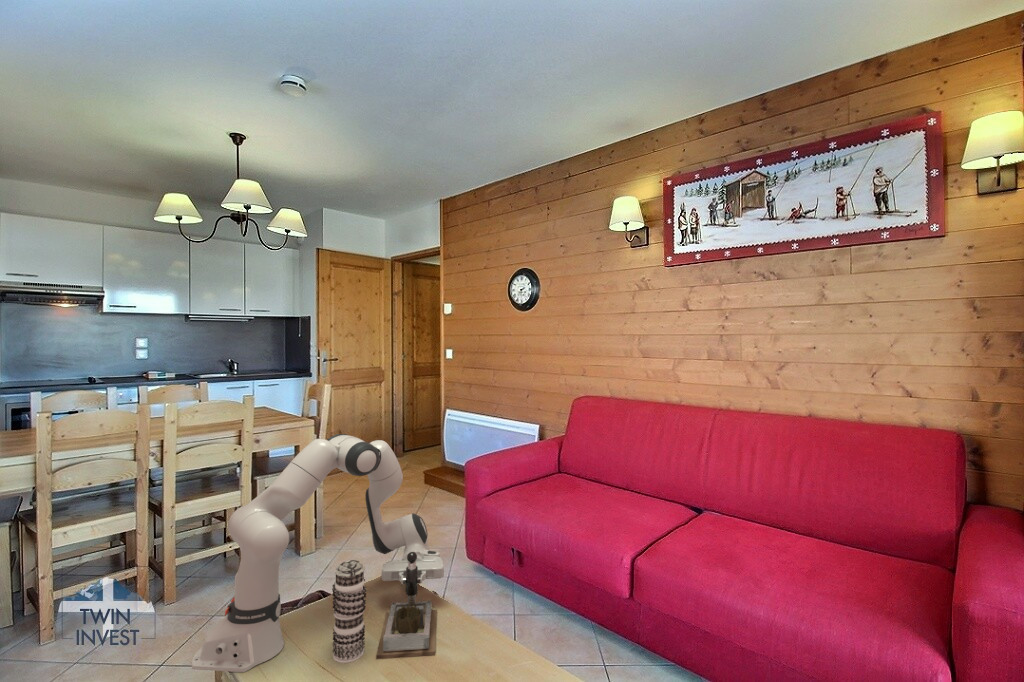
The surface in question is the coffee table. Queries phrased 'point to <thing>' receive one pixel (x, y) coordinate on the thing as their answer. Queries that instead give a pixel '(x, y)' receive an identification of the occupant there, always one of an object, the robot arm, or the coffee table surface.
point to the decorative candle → (349, 612)
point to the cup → (408, 619)
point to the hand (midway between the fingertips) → (411, 581)
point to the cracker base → (410, 653)
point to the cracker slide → (409, 639)
